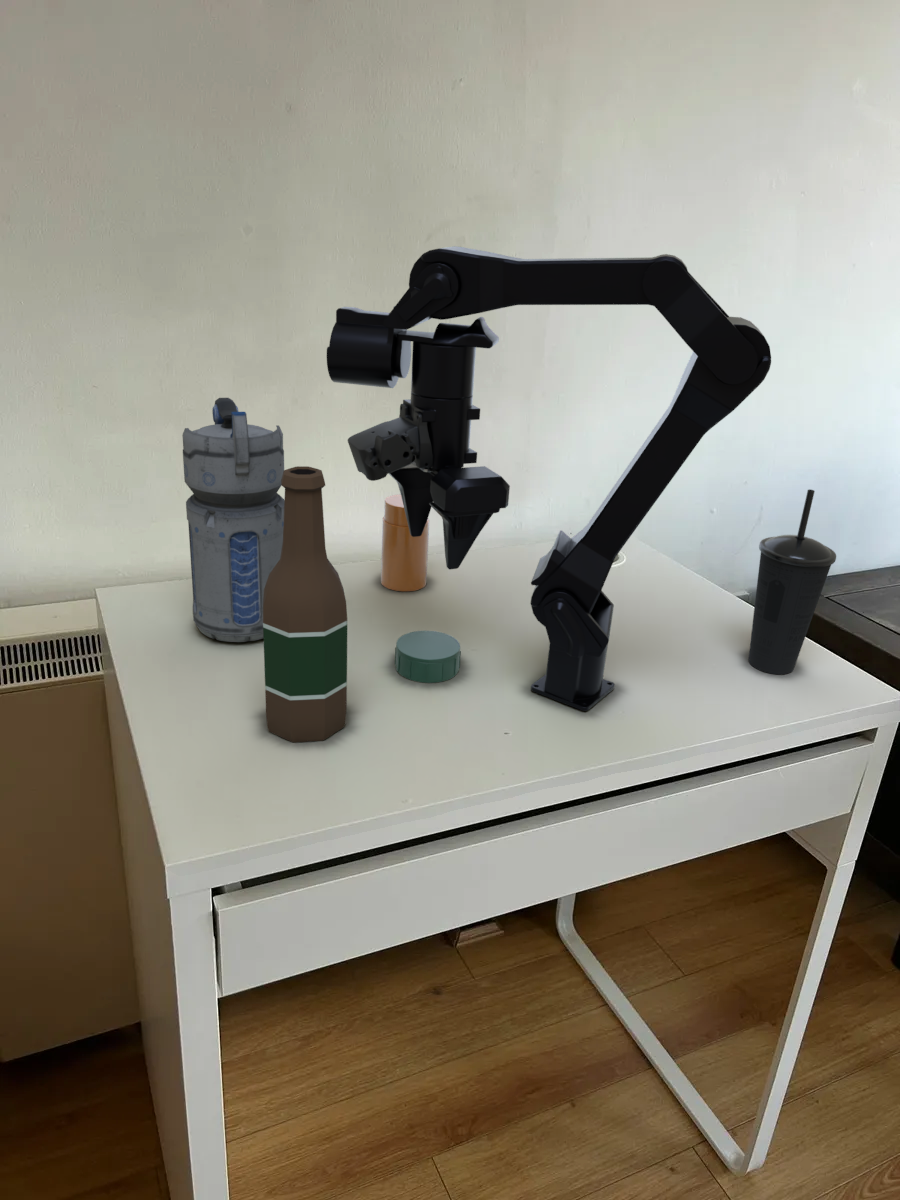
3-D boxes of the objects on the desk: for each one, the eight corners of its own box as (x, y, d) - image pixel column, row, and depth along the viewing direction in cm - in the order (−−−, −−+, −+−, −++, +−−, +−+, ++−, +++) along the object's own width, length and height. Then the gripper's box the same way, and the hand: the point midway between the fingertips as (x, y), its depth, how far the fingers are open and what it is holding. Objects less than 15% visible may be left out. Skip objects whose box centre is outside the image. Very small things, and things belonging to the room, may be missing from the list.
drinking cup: (817, 683, 96) (863, 504, 88) (746, 679, 96) (785, 499, 88) (794, 650, 103) (834, 481, 95) (727, 646, 103) (762, 477, 95)
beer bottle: (333, 751, 79) (333, 489, 69) (249, 737, 81) (238, 478, 71) (358, 707, 86) (362, 463, 76) (281, 695, 88) (275, 453, 78)
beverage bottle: (273, 596, 109) (268, 387, 98) (297, 644, 97) (294, 414, 87) (186, 604, 105) (172, 388, 95) (200, 655, 94) (185, 417, 84)
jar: (418, 594, 111) (422, 510, 107) (374, 587, 113) (376, 504, 108) (431, 577, 117) (436, 497, 112) (389, 571, 118) (392, 491, 114)
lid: (450, 650, 98) (451, 628, 97) (465, 680, 92) (467, 657, 91) (390, 654, 96) (390, 632, 95) (402, 685, 91) (403, 661, 90)
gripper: (327, 375, 87) (327, 527, 94) (396, 419, 72) (390, 598, 78) (432, 373, 92) (425, 519, 98) (519, 414, 76) (504, 583, 83)
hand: (433, 551), depth 89 cm, fingers open, 9 cm apart
